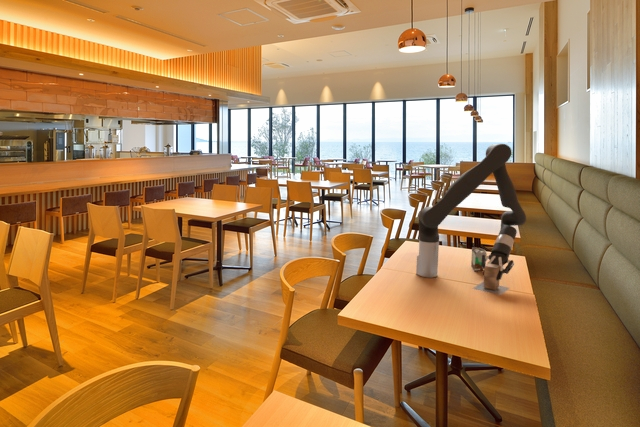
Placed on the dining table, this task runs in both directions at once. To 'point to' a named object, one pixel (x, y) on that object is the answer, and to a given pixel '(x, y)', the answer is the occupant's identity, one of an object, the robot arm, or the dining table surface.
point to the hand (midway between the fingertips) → (491, 278)
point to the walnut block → (491, 276)
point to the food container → (477, 259)
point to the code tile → (497, 291)
